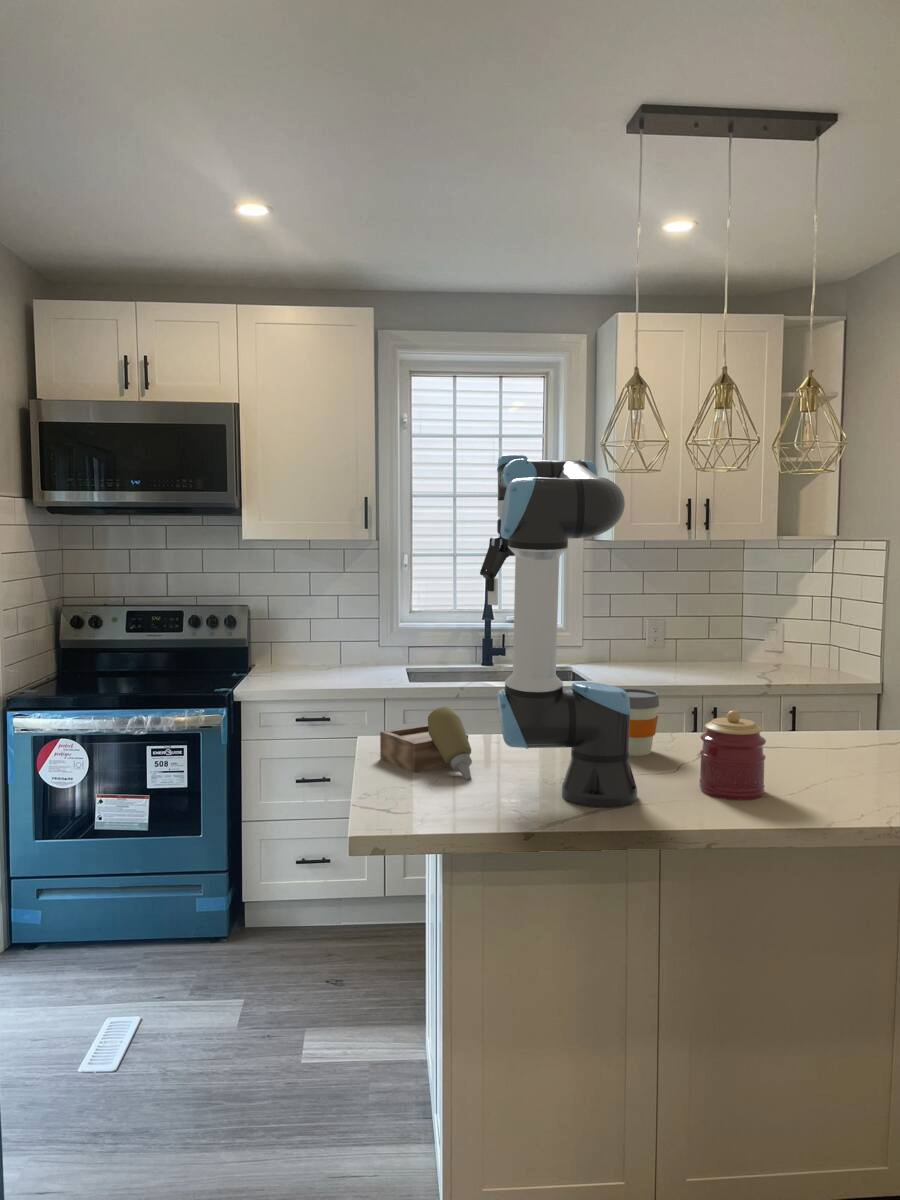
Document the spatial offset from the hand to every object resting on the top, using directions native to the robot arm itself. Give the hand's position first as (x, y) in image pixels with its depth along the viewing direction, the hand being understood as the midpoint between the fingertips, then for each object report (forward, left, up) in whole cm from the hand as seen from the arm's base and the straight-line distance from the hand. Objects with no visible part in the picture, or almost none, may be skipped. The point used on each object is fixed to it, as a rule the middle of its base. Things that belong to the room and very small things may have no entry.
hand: (511, 603), depth 218 cm
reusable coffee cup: (-17, -25, -37) cm, 48 cm away
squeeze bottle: (-8, +24, -24) cm, 35 cm away
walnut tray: (-3, +25, -37) cm, 45 cm away
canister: (-54, -22, -37) cm, 69 cm away
